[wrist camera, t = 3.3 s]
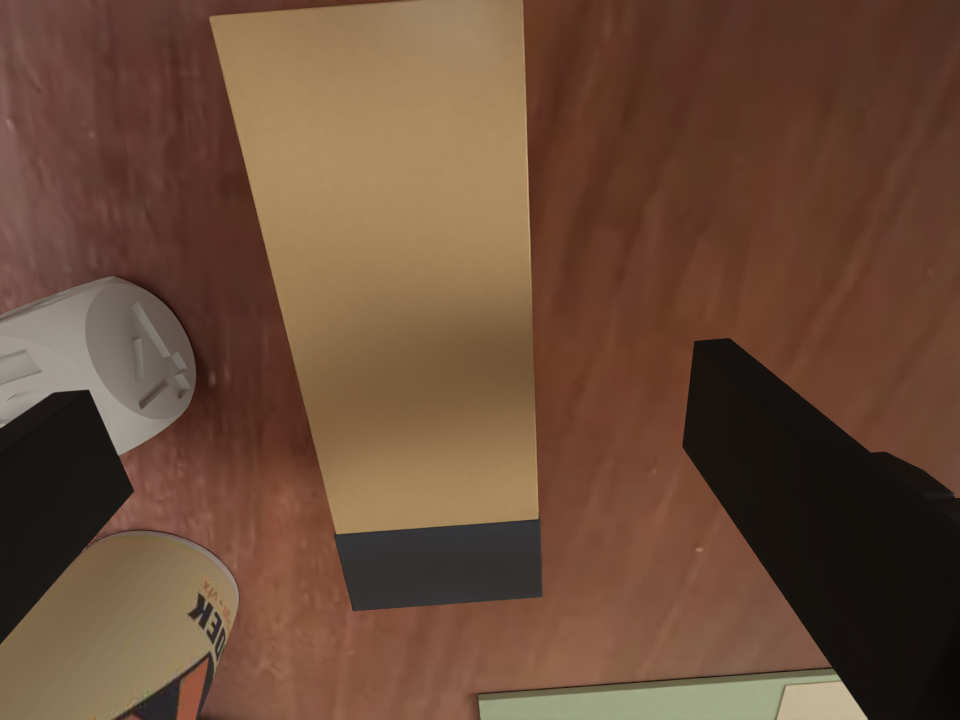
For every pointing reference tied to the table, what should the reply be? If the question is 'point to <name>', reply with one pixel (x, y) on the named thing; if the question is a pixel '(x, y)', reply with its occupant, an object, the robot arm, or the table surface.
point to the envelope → (686, 700)
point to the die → (99, 357)
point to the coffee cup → (122, 634)
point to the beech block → (403, 279)
